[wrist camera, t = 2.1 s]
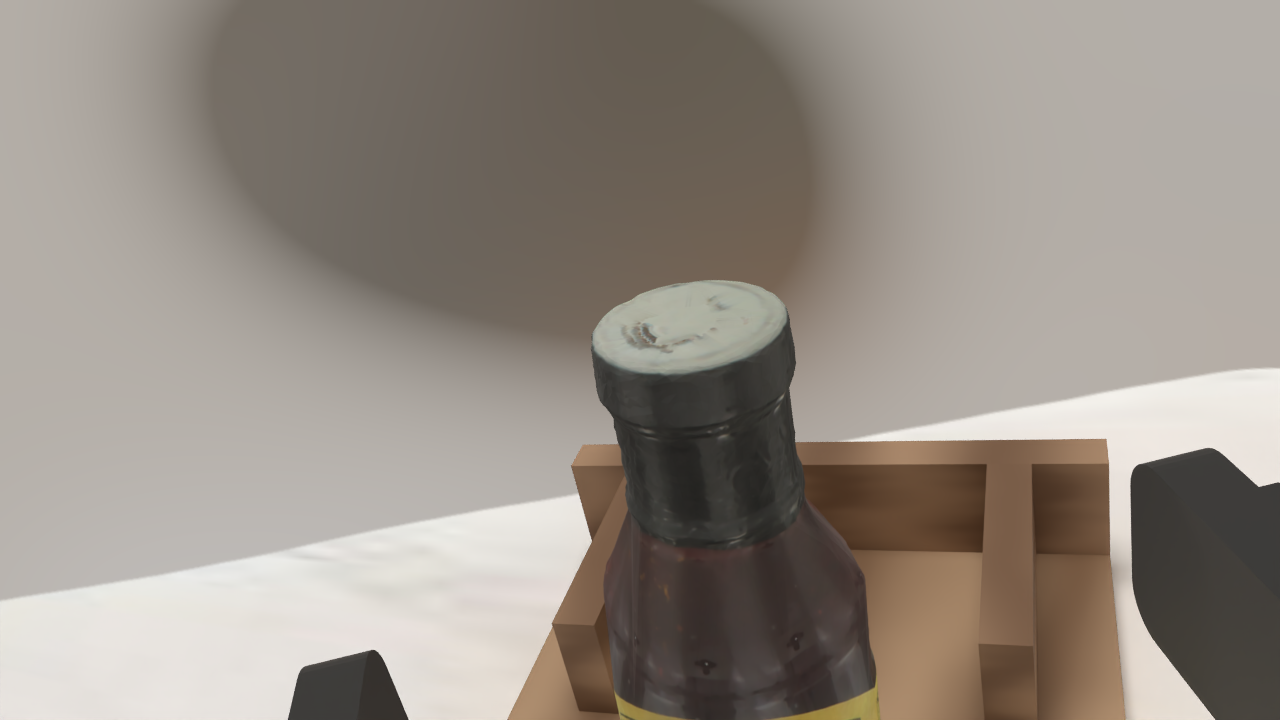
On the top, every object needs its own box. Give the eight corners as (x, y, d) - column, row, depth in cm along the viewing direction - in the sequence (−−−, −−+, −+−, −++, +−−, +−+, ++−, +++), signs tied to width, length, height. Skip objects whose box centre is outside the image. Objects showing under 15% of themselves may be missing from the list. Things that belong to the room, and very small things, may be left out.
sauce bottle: (663, 1049, 30) (458, 417, 21) (699, 846, 35) (548, 270, 26) (917, 1071, 28) (815, 392, 19) (915, 855, 34) (835, 240, 24)
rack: (508, 769, 40) (466, 651, 37) (611, 549, 50) (583, 444, 47) (1132, 829, 33) (1132, 690, 30) (1107, 560, 43) (1106, 439, 40)
